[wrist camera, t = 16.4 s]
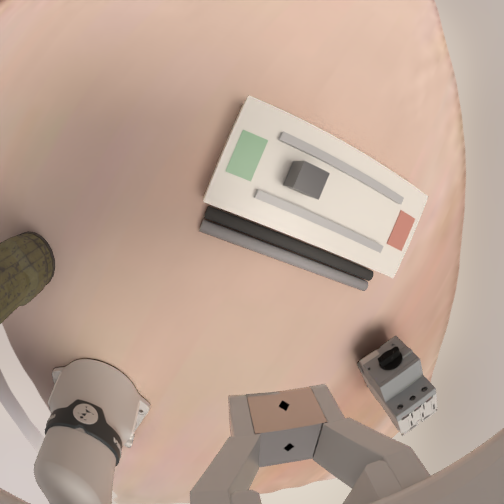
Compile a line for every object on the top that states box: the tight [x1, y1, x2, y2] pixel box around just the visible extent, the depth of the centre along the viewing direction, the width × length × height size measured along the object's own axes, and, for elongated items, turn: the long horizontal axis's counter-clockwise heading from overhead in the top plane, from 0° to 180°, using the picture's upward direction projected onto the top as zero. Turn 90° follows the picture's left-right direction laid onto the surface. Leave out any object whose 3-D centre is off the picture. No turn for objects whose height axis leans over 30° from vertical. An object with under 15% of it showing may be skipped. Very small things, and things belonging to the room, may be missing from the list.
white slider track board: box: [203, 95, 428, 278], centre depth 36 cm, size 13×28×6 cm, turn 67°
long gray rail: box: [199, 206, 373, 291], centre depth 40 cm, size 3×26×2 cm, turn 67°
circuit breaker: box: [357, 336, 437, 436], centre depth 42 cm, size 8×14×15 cm, turn 29°
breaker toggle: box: [283, 161, 330, 200], centre depth 30 cm, size 3×3×4 cm
